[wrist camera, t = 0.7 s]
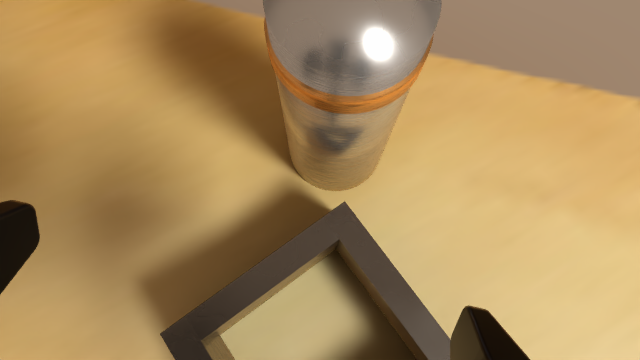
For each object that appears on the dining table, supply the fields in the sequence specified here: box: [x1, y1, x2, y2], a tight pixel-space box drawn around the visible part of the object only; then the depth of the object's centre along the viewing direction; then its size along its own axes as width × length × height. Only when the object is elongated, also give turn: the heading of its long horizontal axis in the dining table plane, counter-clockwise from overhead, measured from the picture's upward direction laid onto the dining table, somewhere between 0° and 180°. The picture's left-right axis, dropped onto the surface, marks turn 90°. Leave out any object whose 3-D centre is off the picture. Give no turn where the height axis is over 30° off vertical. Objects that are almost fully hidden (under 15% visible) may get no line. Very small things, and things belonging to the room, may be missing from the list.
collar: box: [160, 202, 451, 360], centre depth 19 cm, size 9×9×4 cm
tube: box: [263, 0, 441, 191], centre depth 18 cm, size 5×5×12 cm
